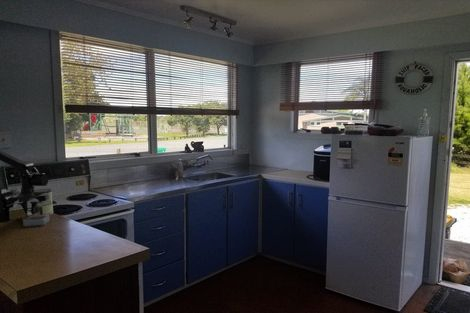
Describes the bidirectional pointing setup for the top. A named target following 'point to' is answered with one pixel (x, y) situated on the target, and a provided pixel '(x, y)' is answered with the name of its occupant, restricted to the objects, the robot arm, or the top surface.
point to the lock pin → (29, 212)
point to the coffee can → (44, 202)
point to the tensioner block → (29, 216)
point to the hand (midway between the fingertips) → (29, 214)
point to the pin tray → (36, 220)
